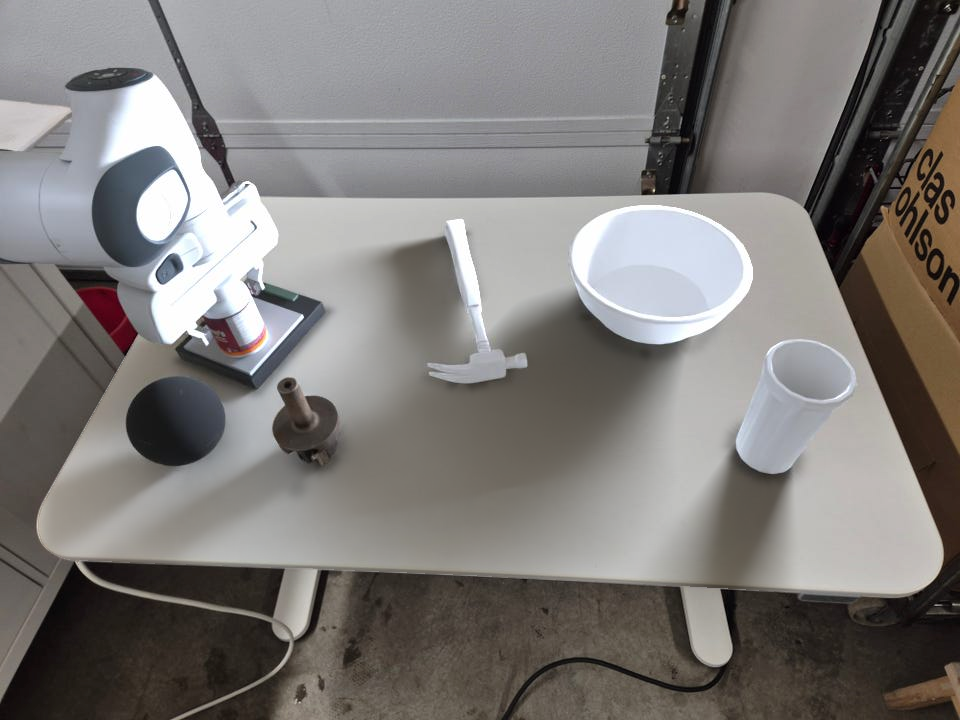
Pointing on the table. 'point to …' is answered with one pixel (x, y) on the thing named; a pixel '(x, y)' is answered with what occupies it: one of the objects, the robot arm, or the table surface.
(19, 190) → the robot arm
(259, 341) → the pill bottle
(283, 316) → the scale
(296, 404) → the industrial component
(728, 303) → the bowl
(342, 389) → the table surface
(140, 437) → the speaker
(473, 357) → the hammer
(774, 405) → the cup
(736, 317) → the table surface
